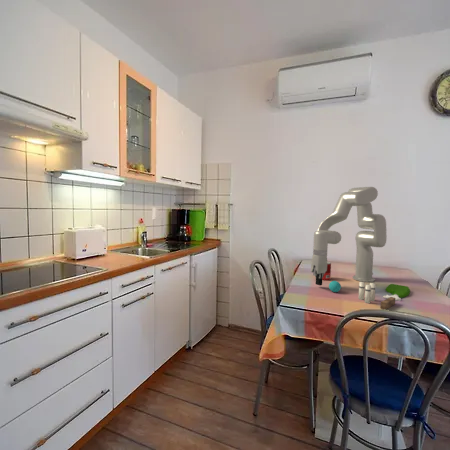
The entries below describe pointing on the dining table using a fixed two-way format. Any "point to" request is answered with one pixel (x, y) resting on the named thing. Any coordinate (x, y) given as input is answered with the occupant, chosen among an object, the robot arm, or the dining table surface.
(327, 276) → the canned food
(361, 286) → the front pin
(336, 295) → the dining table surface
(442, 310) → the dining table surface
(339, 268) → the dining table surface
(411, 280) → the dining table surface
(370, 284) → the back pin far
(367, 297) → the back pin near
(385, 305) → the brown wooden bar
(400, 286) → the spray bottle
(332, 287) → the ball
